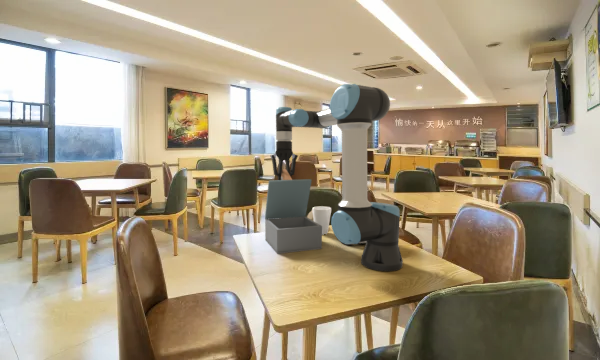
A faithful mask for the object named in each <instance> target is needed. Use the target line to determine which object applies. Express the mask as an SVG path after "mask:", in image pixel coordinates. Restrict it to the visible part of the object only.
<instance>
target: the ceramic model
mask: <svg viewBox="0 0 600 360" xmlns="http://www.w3.org/2000/svg"><path fill="white" fill-rule="evenodd" d="M306 217H307V218H309V219H311V220H312V221H314V218H313V213H312V210H311V211H309V213H307V215H306Z"/></svg>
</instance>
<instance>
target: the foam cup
mask: <svg viewBox="0 0 600 360" xmlns="http://www.w3.org/2000/svg"><path fill="white" fill-rule="evenodd" d="M311 211H312V213H313V218H314V222H316V223H318V224H319V225H321V226H322V236H325V235H324V234H326V235H328V234H327V233H329V227H330V221H331V213H332V207H330V206H323V205H321V206H314V207H312V209H311Z"/></svg>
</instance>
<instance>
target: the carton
mask: <svg viewBox="0 0 600 360" xmlns="http://www.w3.org/2000/svg"><path fill="white" fill-rule="evenodd" d="M264 219H265V218H264ZM264 223H265V224H264V227H265V229H264V231H265V232H264V233H265V242H266V243H267V244H268V245H269V246H270V247H271V249H272V250H274V251H273V252H275V253H276V254H286V253H295V252H303V251H304V252H305V251H313V250H322V249H323V245H322V244H323V235H322V226H321V225H319V224H318V223H316V222H314V221H312V220H311V219H309V218H307V215H306V216H304V217H290V218H276V219H265V221H264Z"/></svg>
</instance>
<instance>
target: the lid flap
mask: <svg viewBox="0 0 600 360" xmlns="http://www.w3.org/2000/svg"><path fill="white" fill-rule="evenodd" d="M281 177H283V180H278V179H277V180H276V179H275V180H274V179H272V180H271V179H270V180H268V186H267V194H266V204H265V213H264V219H277V218H291V217H305V216H306V217H307V211H308V210H307V209H308V203H309V198H310V193H311V192H310V191H311V187H312V179H311V178H310V179H309V178H308V179H304V178H303V179H293V178H292V176H291V177H290V175H289V173H288V172H287V170H286V168H282V175H281Z"/></svg>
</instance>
